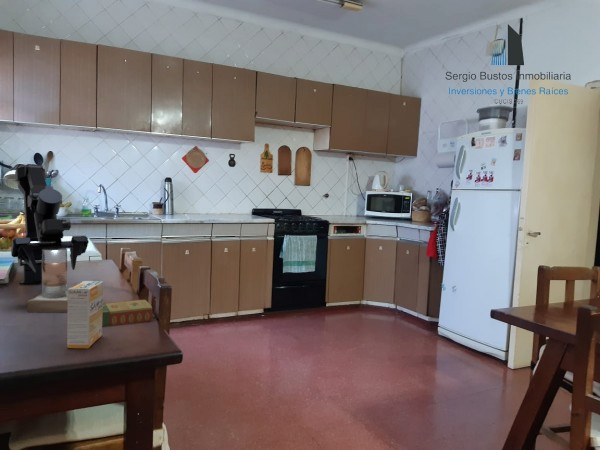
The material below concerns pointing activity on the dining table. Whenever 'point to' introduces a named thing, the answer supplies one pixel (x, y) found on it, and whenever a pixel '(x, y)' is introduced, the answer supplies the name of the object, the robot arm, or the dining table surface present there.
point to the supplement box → (84, 314)
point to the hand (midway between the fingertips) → (55, 270)
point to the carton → (126, 312)
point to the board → (47, 304)
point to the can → (54, 273)
